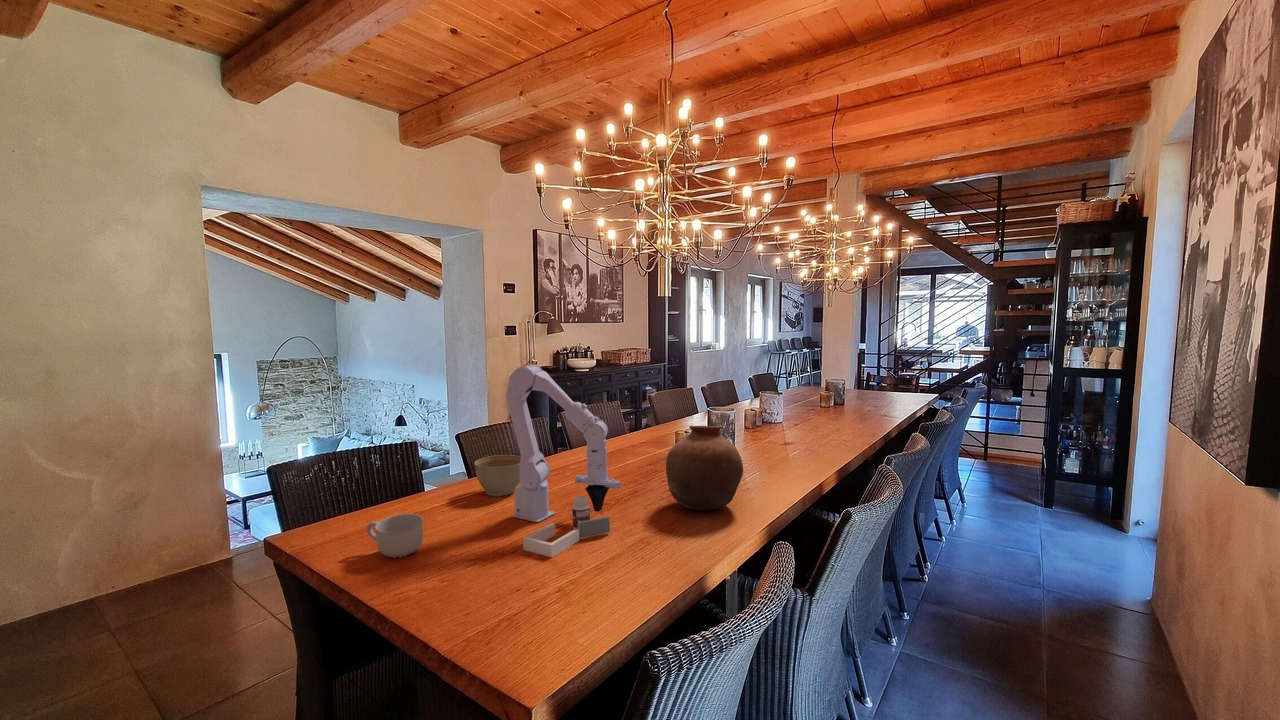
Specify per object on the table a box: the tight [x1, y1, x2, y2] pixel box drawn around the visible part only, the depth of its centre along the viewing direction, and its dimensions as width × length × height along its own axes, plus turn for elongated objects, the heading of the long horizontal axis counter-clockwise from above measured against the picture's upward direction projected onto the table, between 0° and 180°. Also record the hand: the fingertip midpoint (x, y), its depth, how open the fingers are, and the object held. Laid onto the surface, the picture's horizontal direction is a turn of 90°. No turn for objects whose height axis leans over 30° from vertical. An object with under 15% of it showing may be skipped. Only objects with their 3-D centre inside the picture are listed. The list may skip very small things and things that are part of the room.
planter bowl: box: [474, 454, 521, 497], centre depth 175 cm, size 16×16×11 cm
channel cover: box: [578, 516, 611, 540], centre depth 138 cm, size 9×1×4 cm, turn 115°
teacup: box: [366, 513, 424, 559], centre depth 131 cm, size 14×11×8 cm
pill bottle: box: [571, 495, 591, 530], centre depth 144 cm, size 5×5×8 cm
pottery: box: [665, 425, 744, 511], centre depth 159 cm, size 23×23×25 cm
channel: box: [522, 523, 580, 558], centre depth 133 cm, size 9×11×3 cm
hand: (598, 510), depth 151 cm, fingers closed
